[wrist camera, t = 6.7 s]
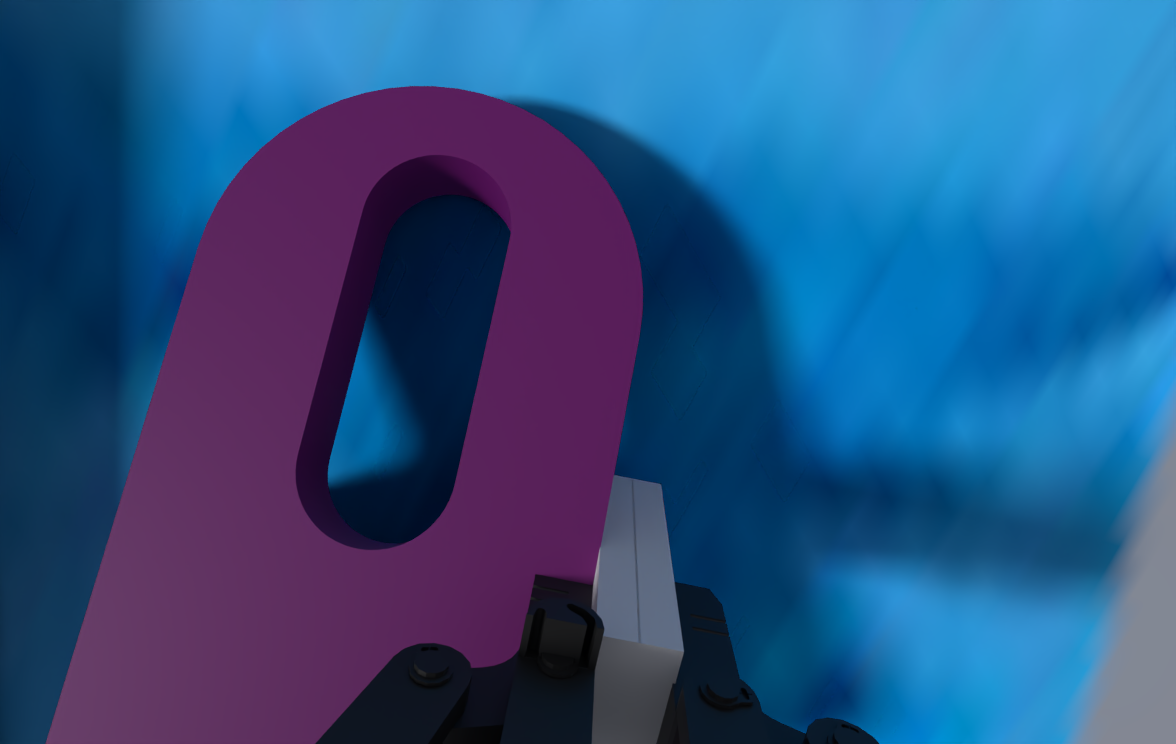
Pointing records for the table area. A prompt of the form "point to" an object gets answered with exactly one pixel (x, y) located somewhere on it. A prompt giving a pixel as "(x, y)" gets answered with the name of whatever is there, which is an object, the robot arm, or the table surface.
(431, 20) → the table surface
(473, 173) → the mounting bracket
